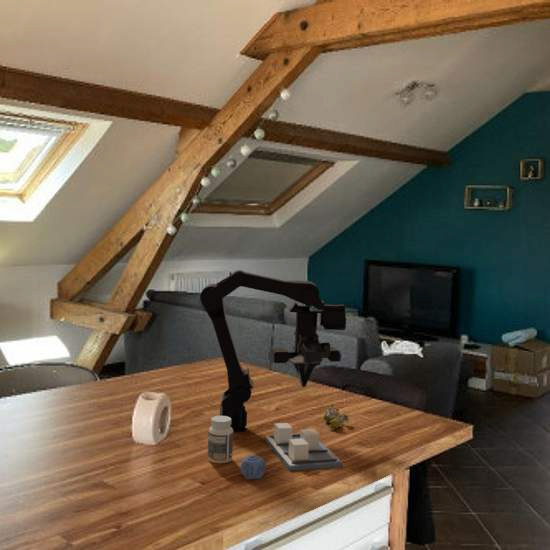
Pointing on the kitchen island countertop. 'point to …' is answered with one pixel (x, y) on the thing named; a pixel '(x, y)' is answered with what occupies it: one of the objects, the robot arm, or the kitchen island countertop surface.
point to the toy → (334, 417)
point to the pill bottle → (220, 440)
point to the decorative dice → (253, 467)
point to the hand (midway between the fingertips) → (303, 386)
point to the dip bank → (315, 457)
